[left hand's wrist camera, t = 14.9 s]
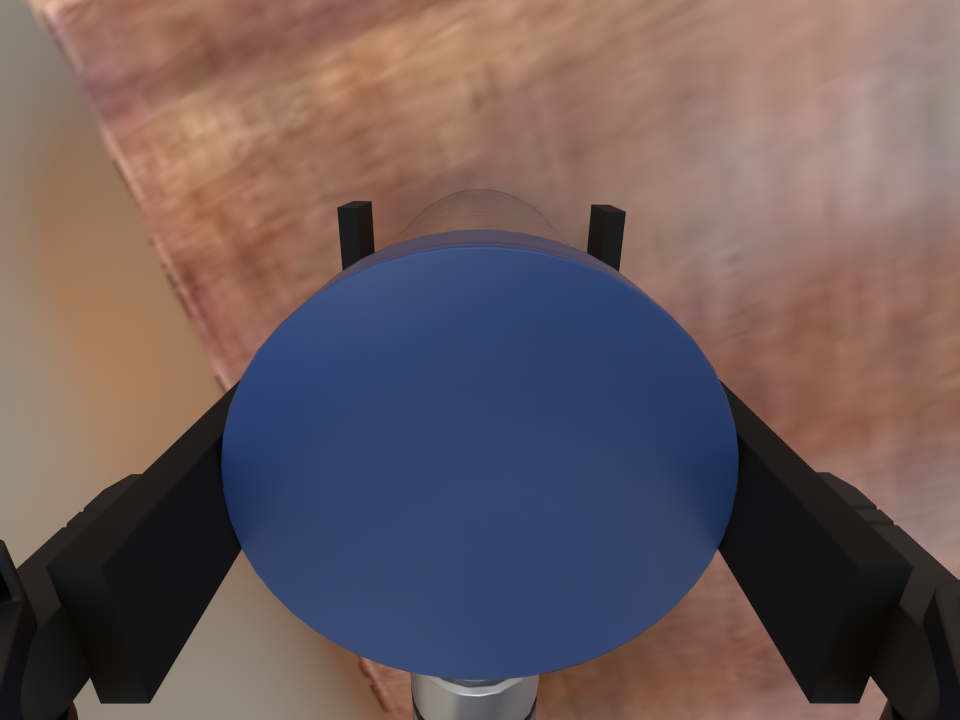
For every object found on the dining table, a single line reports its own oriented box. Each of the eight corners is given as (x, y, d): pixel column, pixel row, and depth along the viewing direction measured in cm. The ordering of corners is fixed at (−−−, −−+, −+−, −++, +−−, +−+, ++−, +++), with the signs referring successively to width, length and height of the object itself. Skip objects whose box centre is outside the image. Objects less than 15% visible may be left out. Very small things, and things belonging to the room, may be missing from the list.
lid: (567, 657, 15) (580, 728, 13) (211, 535, 13) (168, 597, 11) (793, 352, 11) (852, 391, 9) (346, 135, 10) (315, 133, 8)
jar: (518, 381, 31) (569, 694, 13) (370, 318, 29) (203, 573, 12) (596, 236, 28) (802, 391, 10) (435, 157, 26) (341, 174, 8)
